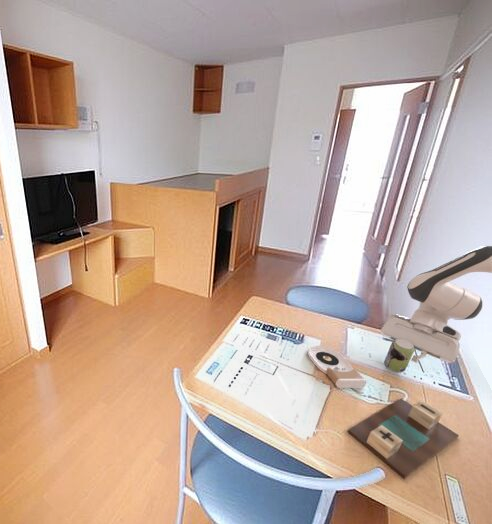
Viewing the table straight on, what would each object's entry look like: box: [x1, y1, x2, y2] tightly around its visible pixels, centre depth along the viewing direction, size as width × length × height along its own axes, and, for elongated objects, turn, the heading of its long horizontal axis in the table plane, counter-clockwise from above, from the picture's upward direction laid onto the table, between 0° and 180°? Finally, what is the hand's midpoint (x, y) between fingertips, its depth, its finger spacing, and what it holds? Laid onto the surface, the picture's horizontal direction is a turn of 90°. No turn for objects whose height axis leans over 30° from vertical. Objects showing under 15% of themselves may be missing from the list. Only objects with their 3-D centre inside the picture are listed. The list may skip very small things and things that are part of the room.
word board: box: [347, 398, 460, 480], centre depth 83 cm, size 26×14×5 cm, turn 115°
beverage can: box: [383, 338, 415, 373], centre depth 106 cm, size 6×7×12 cm
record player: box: [307, 345, 367, 389], centre depth 109 cm, size 12×3×20 cm
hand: (407, 358), depth 104 cm, fingers closed on beverage can, 2 cm apart
